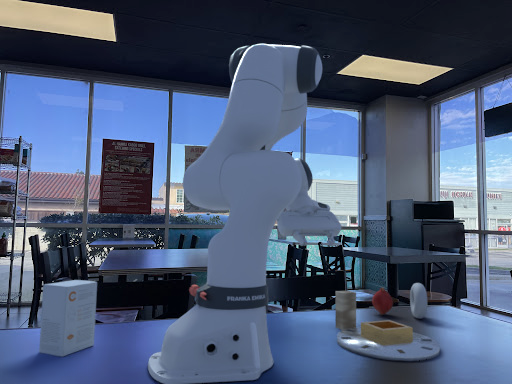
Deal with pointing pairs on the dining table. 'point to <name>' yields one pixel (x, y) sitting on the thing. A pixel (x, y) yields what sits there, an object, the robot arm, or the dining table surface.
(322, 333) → the dining table surface
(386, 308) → the onion
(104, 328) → the dining table surface
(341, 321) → the tall beige block
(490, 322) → the dining table surface
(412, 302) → the donut
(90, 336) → the small box
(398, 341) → the slotted white disc
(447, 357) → the dining table surface
